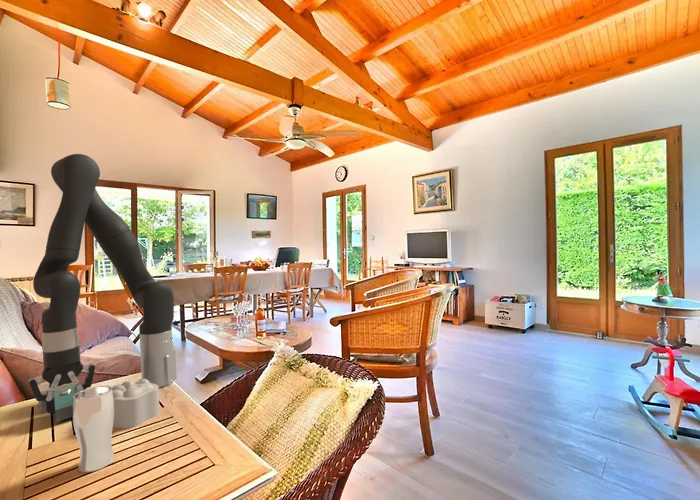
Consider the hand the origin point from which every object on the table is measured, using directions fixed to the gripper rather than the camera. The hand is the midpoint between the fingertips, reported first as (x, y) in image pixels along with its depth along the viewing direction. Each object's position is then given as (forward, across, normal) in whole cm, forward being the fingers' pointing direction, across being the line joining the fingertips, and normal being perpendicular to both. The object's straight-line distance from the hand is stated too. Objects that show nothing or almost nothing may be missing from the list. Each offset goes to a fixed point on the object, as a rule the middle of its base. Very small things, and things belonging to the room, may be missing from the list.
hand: (65, 408), depth 92 cm
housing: (+1, 0, 0) cm, 1 cm away
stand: (+2, 0, -12) cm, 12 cm away
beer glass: (+2, -1, +31) cm, 31 cm away
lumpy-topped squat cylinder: (+3, -12, +13) cm, 18 cm away
